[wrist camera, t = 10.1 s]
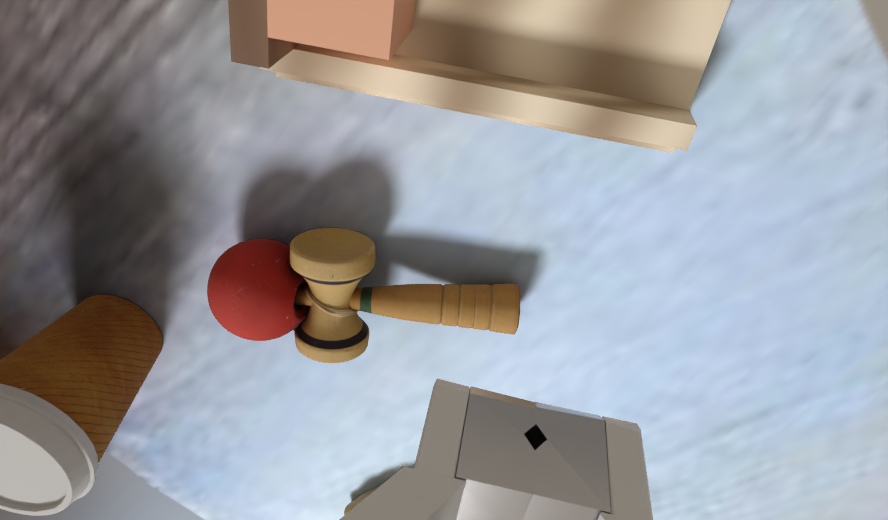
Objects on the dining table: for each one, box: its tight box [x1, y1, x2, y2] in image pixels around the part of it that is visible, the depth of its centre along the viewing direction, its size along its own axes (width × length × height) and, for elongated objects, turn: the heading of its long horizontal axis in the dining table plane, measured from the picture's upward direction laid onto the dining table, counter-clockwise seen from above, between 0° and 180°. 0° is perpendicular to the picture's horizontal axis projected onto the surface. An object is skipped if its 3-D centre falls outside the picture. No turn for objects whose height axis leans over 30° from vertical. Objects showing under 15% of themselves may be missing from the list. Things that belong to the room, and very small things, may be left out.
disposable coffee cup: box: [0, 295, 163, 516], centre depth 40 cm, size 10×10×12 cm
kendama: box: [207, 228, 520, 363], centre depth 37 cm, size 8×6×18 cm
